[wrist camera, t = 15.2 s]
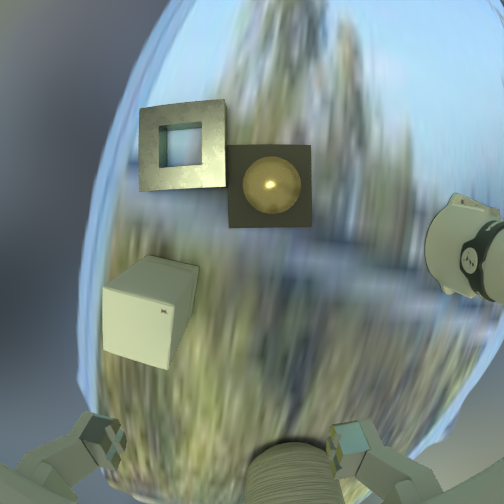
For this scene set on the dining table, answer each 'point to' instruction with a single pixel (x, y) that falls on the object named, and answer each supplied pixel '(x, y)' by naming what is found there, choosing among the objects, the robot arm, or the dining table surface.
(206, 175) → the housing
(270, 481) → the vase
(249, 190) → the knob
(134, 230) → the dining table surface
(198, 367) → the dining table surface
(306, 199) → the mat
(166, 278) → the supplement box
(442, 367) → the dining table surface
